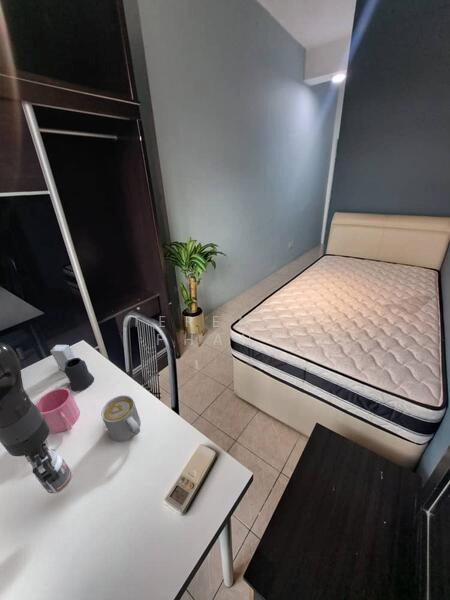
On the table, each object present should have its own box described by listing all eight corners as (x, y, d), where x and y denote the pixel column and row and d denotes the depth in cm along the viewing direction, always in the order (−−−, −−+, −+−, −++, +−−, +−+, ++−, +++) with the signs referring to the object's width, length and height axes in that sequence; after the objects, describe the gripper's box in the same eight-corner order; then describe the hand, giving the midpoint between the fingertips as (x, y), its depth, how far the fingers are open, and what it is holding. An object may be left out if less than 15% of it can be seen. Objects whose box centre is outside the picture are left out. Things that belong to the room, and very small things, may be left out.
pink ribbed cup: (42, 421, 88) (30, 402, 83) (73, 401, 94) (64, 383, 89) (56, 446, 79) (43, 426, 74) (88, 423, 86) (79, 403, 81)
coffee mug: (105, 427, 84) (96, 408, 79) (132, 409, 90) (126, 390, 85) (121, 456, 75) (112, 436, 70) (150, 433, 81) (144, 414, 76)
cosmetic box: (79, 365, 112) (70, 344, 107) (73, 372, 109) (63, 350, 103) (66, 364, 113) (56, 343, 107) (60, 371, 109) (49, 350, 103)
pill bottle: (74, 466, 66) (60, 443, 61) (70, 488, 61) (55, 466, 56) (49, 475, 64) (33, 453, 59) (44, 499, 59) (26, 477, 55)
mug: (98, 380, 103) (90, 359, 98) (76, 395, 97) (66, 374, 92) (83, 369, 110) (75, 349, 104) (62, 382, 103) (52, 362, 98)
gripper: (-5, 416, 54) (28, 459, 63) (2, 465, 45) (39, 508, 53) (35, 396, 59) (61, 439, 67) (49, 437, 50) (76, 481, 58)
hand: (51, 469), depth 60 cm, fingers closed on pill bottle, 5 cm apart
